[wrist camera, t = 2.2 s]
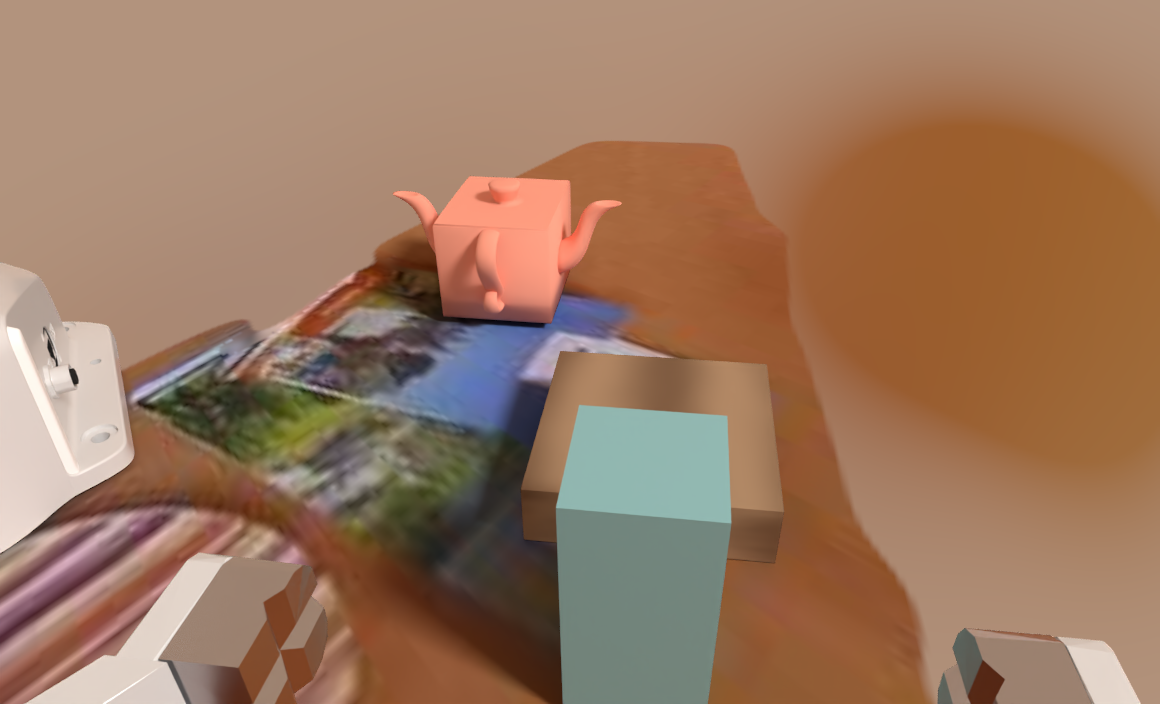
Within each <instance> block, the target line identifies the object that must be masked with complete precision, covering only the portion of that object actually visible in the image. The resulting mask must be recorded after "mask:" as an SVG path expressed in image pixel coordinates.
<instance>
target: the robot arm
mask: <svg viewBox="0 0 1160 704" xmlns="http://www.w3.org/2000/svg"><path fill="white" fill-rule="evenodd" d="M133 458H134V447H133V441H132V435H131V429H130V423H129V416H128V410H127V404H126V398H125V392H124V386H123V380H122V374H121V368H120V362H119V356H118V350H117V345H116V340H115V338H114V336H113V334H112V332H111V330H110V328H109V327H108V326H106V325H103V324H97V323H89V322H62V321H61V319H60V317H59V314H58V312H57V310H56V308H55V305H54V303H53V301H52V299H51V297H50V294H49V293H48V291H47V289H46V287H45V285H44V283H43V281H42V280H41V279H40V277H38V276H37V275H36V274H34V273H32V272H30V271H28V270H25V269H22V268H18V267H15V266H11V265H8V264H5V263H2V262H0V553H2V552H3V551H5V550H6V549H8V548H9V547H11V546H12V545H14V544H15V543H17V542H18V541H19V540H21V539H22V538H23V537H25V536H26V535H28V534H29V533H30V532H31V531H33V530H34V529H35V528H36V527H38V526H39V525H40V524H41V523H42V522H43V521H45V520H46V519H47V518H48V517H49V516H50V515H52V514H53V513H54V512H55V511H56V510H57V509H58V508H60V507H61V506H62V505H63V504H65V503H66V502H67V501H69V500H70V499H72V498H73V497H74V496H76V495H78V494H80V493H82V492H84V491H85V490H87V489H89V488H91V487H93V486H95V485H97V484H99V483H101V482H102V481H104V480H106V479H108V478H110V477H111V476H113V475H115V474H116V473H118V472H120V471H121V470H122V469H124V468H125V467H126V466H128V465H129V464H130V462H131V461H132V460H133ZM316 586H317V581H316V579H315V576H314V573H313V570H312V567H311V566H305V565H299V564H291V563H283V562H275V561H267V560H259V559H251V558H243V557H235V556H234V557H233V556H224V555H215V554H206V553H198V554H196V555H195V556H193V557H192V558H190V559H189V560H187V561H186V562H185V564H184V565H183V566H182V568H181V569H180V570H179V572H178V573H177V574H176V576H175V577H174V578H173V580H172V581H171V582H170V584H169V585H168V586H167V588H166V589H165V590H164V592H163V593H162V594H161V596H160V597H159V598H158V600H157V601H156V602H155V604H154V605H153V606H152V608H151V609H150V611H149V612H148V613H147V615H146V616H145V617H144V619H143V620H142V621H141V623H140V624H139V625H138V627H137V628H136V629H135V631H134V632H133V633H132V635H131V636H130V637H129V639H128V640H127V641H126V643H125V644H124V645H123V647H122V648H121V649H120V651H119V652H118V653H117V655H116V656H112V655H104V656H102V657H101V658H99V659H97V660H96V661H94V662H92V663H91V664H89V665H88V666H86V667H84V668H83V669H81V670H79V671H78V672H76V673H74V674H73V675H71V676H70V677H68V678H66V679H65V680H63V681H61V682H60V683H58V684H56V685H55V686H53V687H51V688H50V689H48V690H47V691H45V692H43V693H42V694H40V695H38V696H37V697H35V698H33V699H32V700H30V701H29V702H27V703H25V704H297V703H296V699H295V694H294V693H296V692H297V691H298V690H300V689H301V688H302V687H304V686H305V685H306V684H308V683H309V682H310V681H312V680H313V679H314V676H315V674H316V672H317V670H318V668H319V665H320V663H321V661H322V658H323V654H324V650H325V645H326V641H327V637H328V634H327V617H326V613H325V609H324V607H323V606H322V605H321V604H320V603H319V602H318V601H317V600H315V599H314V598H313V597H312V596H311V595H312V593H313V591H314V589H315V588H316ZM953 651H954V654H955V657H956V661H957V664H956V665H954V666H952V667H951V668H949V669H947V670H946V671H944V673H943V676H942V679H941V683H940V686H939V689H938V704H1141V703H1140V701H1139V700H1138V697H1137V696H1136V694H1135V692H1134V690H1133V688H1132V686H1131V684H1130V682H1129V680H1128V678H1127V676H1126V675H1125V673H1124V671H1123V669H1122V667H1121V665H1120V663H1119V661H1118V659H1117V657H1116V655H1115V653H1114V652H1113V650H1112V649H1111V648H1110V647H1109V646H1108V645H1107V644H1106V643H1105V642H1104V641H1097V640H1087V639H1076V638H1066V637H1052V636H1050V635H1041V634H1030V633H1018V632H1007V631H995V630H982V629H971V628H964V629H963V630H962V631H961V632H960V633H958V635H957V638H956V640H955V643H954V646H953Z"/></svg>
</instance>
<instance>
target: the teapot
mask: <svg viewBox="0 0 1160 704" xmlns="http://www.w3.org/2000/svg"><path fill="white" fill-rule="evenodd" d="M393 194H394V195H395V196H396V197H398V198H400V199H402V200H404V201H405V202H407V203H408V204H409V205H410V206H412V207H413V209H414V210H415V211H416V213H417V214H418V216H419V218H420V220H421V223H422V225H423V228H424V231H425V233H426V236H427V239H428V241H429V244H430V246H431V247H432V249H433V251H434V252H435V254H436V260H437V268H438V276H439V284H440V293H441V301H442V309H443V316H445V317H460V318H475V319H490V320H505V321H520V322H535V323H550V324H551V323H552V320H553V317H554V314H555V312H556V309H557V306H558V303H559V300H560V297H561V295H562V292H563V289H564V286H565V283H566V280H567V277H568V275H569V272H570V269H571V268H573V267H574V266H576V265H577V264H578V263H579V262H580V261H581V259H582V258H583V256H584V254H585V252H586V251H587V248H588V245H589V242H590V239H591V236H592V233H593V230H594V227H595V225H596V223H597V221H598V220H599V218H600V217H601V216H602V215H603V214H604V213H605V212H606V211H608V210H610V209H612V208H614V207H617V206H619V205H621V204H622V203H621V202H619V201H610V200H605V201H597V202H594V203H591V204H590V205H589V206H588V207H586V209H585V210H584V211H583V213H582V215H581V218H580V220H579V223H578V226H577V228H576V230H575V232H574V233H573V234H572V235H571V200H570V181H569V180H545V179H524V178H498V177H473V176H469V177H468V179H467V180H466V181H465V182H464V184H463V185H462V186H461V187H460V189H459V190H458V191H457V193H456V194H455V195H454V197H453V198H452V199H451V200H450V202H449V203H448V204H447V206H446V207H445V208H444V210H443V211H442V213H441V214H440V215H439V216H438V214H437V213H436V211H435V209H434V207H433V206H432V204H431V203H430V202H429V201H428V199H427V198H425V197H424V196H423V195H421V194H419V193H416V192H410V191H396V192H393Z"/></svg>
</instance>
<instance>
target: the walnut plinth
mask: <svg viewBox="0 0 1160 704" xmlns="http://www.w3.org/2000/svg"><path fill="white" fill-rule="evenodd" d="M579 405H586V406H600V407H614V408H627V409H641V410H655V411H668V412H682V413H695V414H709V415H723V416H727V421H728V447H729V473H730V499H731V530H730V538H729V546H728V553H727V559H738V560H749V561H759V562H770V563H775V560H776V555H777V549H778V544H779V538H780V532H781V527H782V521H783V516H784V507H783V498H782V490H781V481H780V473H779V464H778V456H777V448H776V439H775V431H774V422H773V414H772V405H771V397H770V388H769V380H768V371H767V364H753V363H737V362H722V361H706V360H691V359H675V358H660V357H644V356H629V355H613V354H597V353H582V352H566V351H560V354H559V358H558V361H557V365H556V368H555V372H554V375H553V379H552V382H551V385H550V389H549V392H548V396H547V399H546V403H545V406H544V410H543V413H542V417H541V420H540V424H539V427H538V431H537V434H536V438H535V441H534V445H533V448H532V451H531V455H530V458H529V462H528V465H527V469H526V472H525V476H524V479H523V483H522V486H521V503H522V518H523V532H524V540H535V541H545V542H556V543H557V525H556V505H557V501H558V496H559V492H560V487H561V483H562V479H563V474H564V470H565V465H566V461H567V456H568V452H569V448H570V443H571V439H572V434H573V430H574V426H575V421H576V417H577V412H578V408H579Z"/></svg>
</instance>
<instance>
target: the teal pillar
mask: <svg viewBox="0 0 1160 704" xmlns="http://www.w3.org/2000/svg"><path fill="white" fill-rule="evenodd" d="M556 525H557V554H558V582H559V610H560V639H561V667H562V696H563V704H708V697H709V689H710V682H711V674H712V667H713V659H714V652H715V644H716V636H717V629H718V621H719V614H720V606H721V599H722V591H723V583H724V576H725V568H726V561H727V553H728V546H729V538H730V530H731V499H730V473H729V447H728V421H727V416H723V415H709V414H695V413H682V412H668V411H655V410H641V409H627V408H614V407H600V406H586V405H579V408H578V412H577V417H576V421H575V426H574V430H573V434H572V439H571V443H570V448H569V452H568V456H567V461H566V465H565V470H564V474H563V479H562V483H561V487H560V492H559V496H558V501H557V505H556Z"/></svg>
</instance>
